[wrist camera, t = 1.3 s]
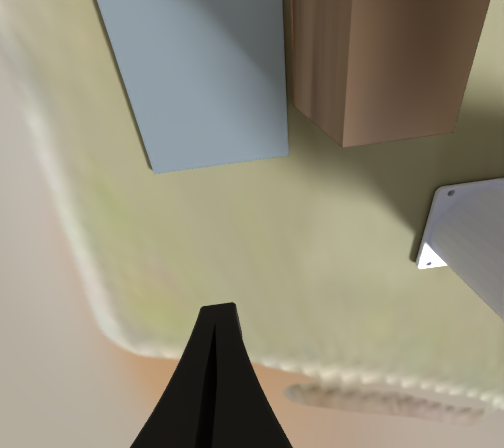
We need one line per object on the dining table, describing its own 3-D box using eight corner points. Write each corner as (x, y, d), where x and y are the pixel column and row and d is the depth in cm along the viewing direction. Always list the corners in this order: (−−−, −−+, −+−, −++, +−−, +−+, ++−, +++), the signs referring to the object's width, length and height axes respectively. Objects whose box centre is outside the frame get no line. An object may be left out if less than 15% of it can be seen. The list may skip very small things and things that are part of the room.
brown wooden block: (369, -34, 14) (524, -122, 7) (357, 96, 17) (453, 132, 10) (290, -24, 14) (358, -100, 7) (293, 105, 17) (342, 147, 10)
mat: (276, -113, 12) (277, -117, 12) (287, 154, 19) (288, 155, 18) (71, -86, 12) (68, -88, 12) (155, 172, 19) (154, 174, 18)
